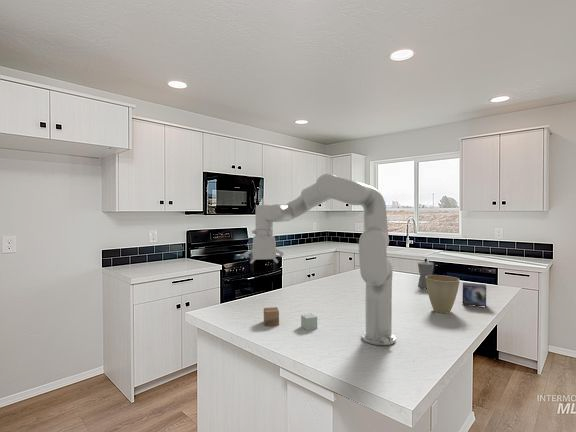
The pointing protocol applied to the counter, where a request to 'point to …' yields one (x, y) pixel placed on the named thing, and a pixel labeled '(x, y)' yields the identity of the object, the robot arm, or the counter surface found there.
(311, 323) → the sage block
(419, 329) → the counter surface
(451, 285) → the plant pot
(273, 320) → the walnut block
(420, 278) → the coffeepot
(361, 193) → the robot arm
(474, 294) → the picture frame
